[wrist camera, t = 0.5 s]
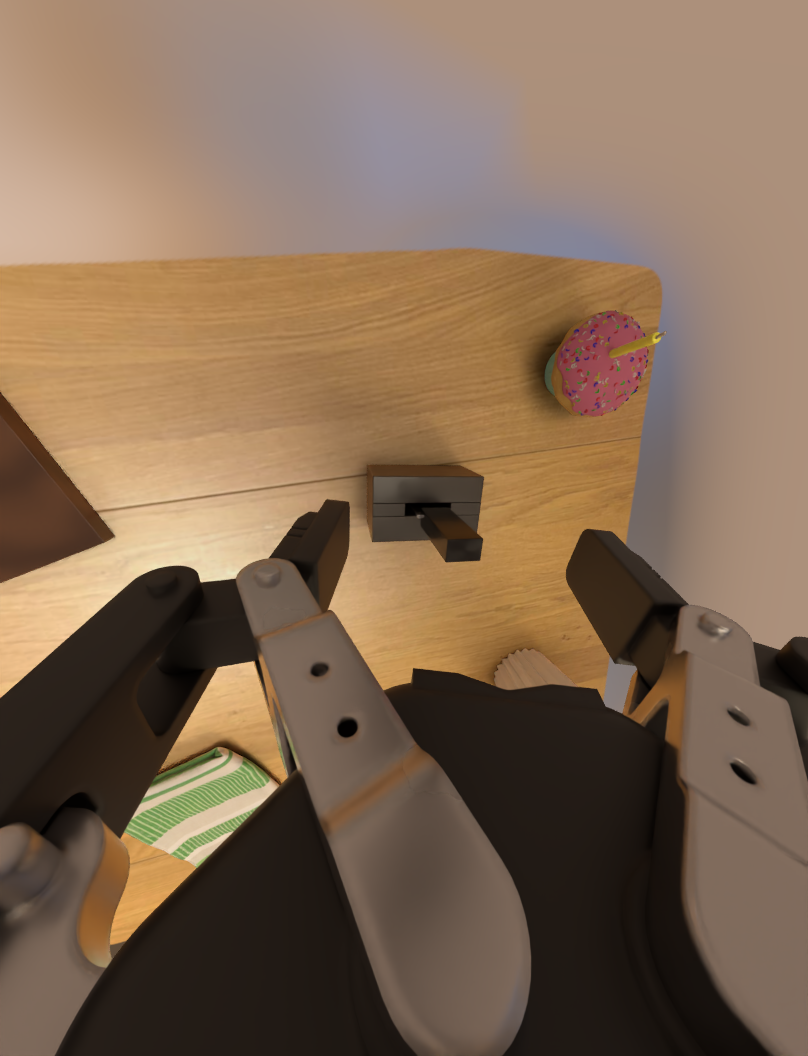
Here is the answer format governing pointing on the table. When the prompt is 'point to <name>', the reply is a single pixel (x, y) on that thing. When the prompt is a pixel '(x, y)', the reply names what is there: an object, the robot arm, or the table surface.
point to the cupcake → (599, 363)
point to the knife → (448, 532)
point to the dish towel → (200, 804)
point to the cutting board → (38, 504)
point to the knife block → (418, 497)
